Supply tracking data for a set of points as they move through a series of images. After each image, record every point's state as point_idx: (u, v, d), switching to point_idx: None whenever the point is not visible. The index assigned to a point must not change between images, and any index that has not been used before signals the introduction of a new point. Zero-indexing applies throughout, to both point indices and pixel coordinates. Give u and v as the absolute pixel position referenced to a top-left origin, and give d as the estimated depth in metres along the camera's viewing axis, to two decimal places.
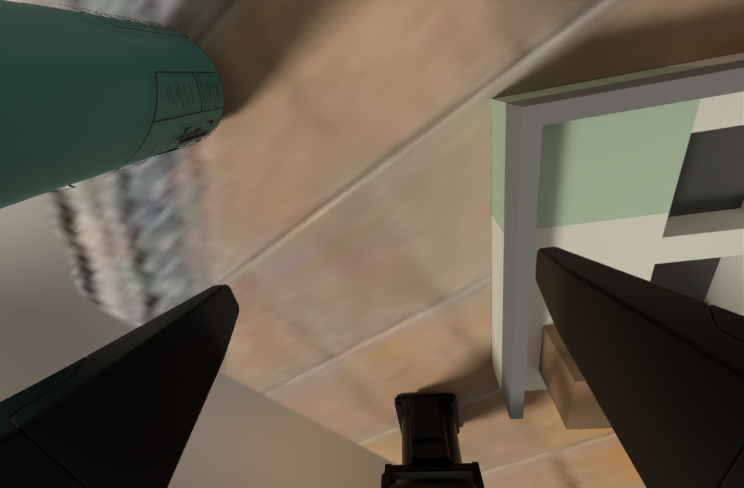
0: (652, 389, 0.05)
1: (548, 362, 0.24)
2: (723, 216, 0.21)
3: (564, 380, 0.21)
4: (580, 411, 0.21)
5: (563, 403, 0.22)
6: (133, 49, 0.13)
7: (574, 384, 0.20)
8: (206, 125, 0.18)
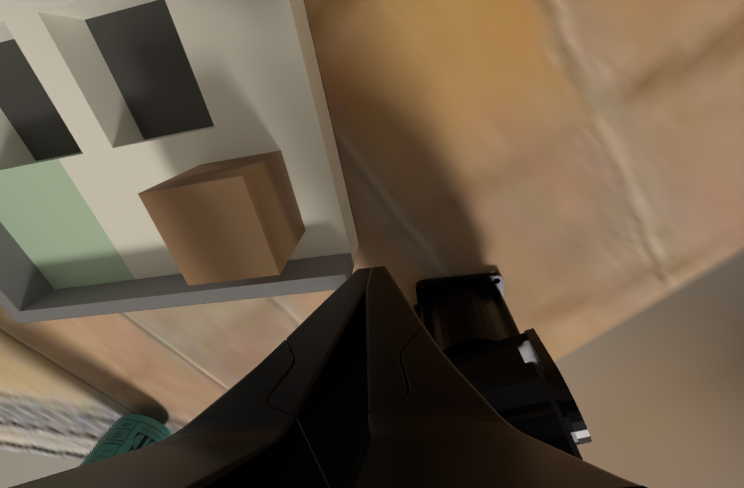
0: None
1: None
2: None
3: None
4: (237, 268, 0.15)
5: None
6: None
7: (194, 284, 0.16)
8: (140, 436, 0.32)
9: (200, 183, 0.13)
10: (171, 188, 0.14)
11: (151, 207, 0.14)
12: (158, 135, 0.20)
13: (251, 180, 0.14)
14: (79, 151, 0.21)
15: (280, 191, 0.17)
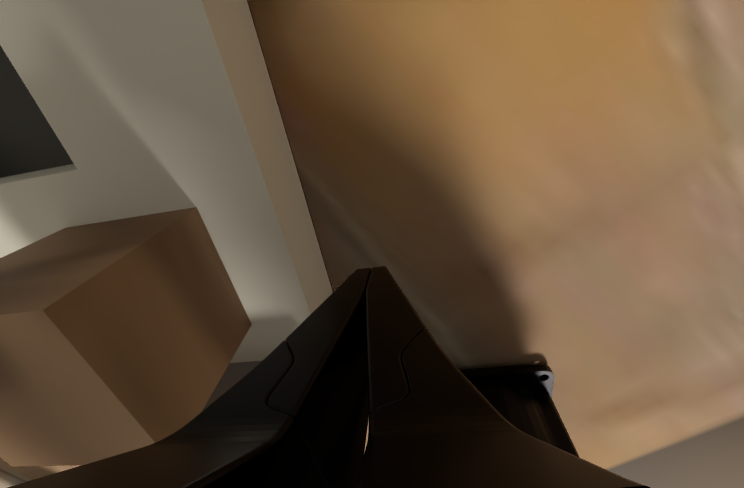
0: None
1: None
2: None
3: None
4: (89, 450, 0.08)
5: None
6: None
7: (22, 465, 0.09)
8: None
9: None
10: None
11: None
12: (20, 171, 0.13)
13: (84, 304, 0.06)
14: None
15: (189, 285, 0.09)
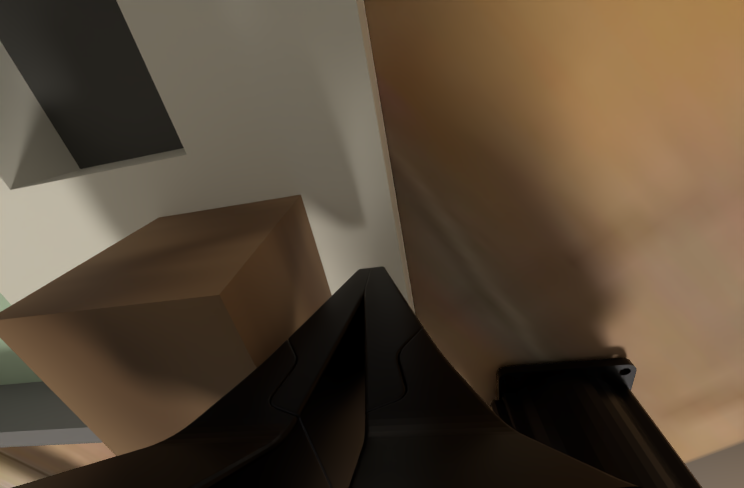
0: None
1: None
2: None
3: None
4: None
5: None
6: None
7: None
8: None
9: (121, 305, 0.06)
10: (57, 313, 0.06)
11: (23, 347, 0.06)
12: (102, 162, 0.12)
13: (242, 290, 0.06)
14: None
15: (301, 275, 0.09)
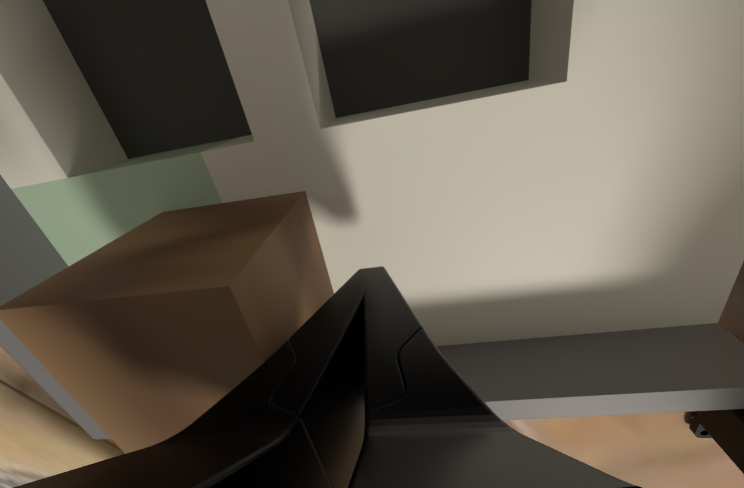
0: None
1: None
2: None
3: None
4: None
5: None
6: None
7: None
8: None
9: (131, 296, 0.06)
10: (66, 303, 0.06)
11: (29, 337, 0.06)
12: (365, 109, 0.11)
13: (251, 283, 0.06)
14: (209, 141, 0.12)
15: (305, 271, 0.09)
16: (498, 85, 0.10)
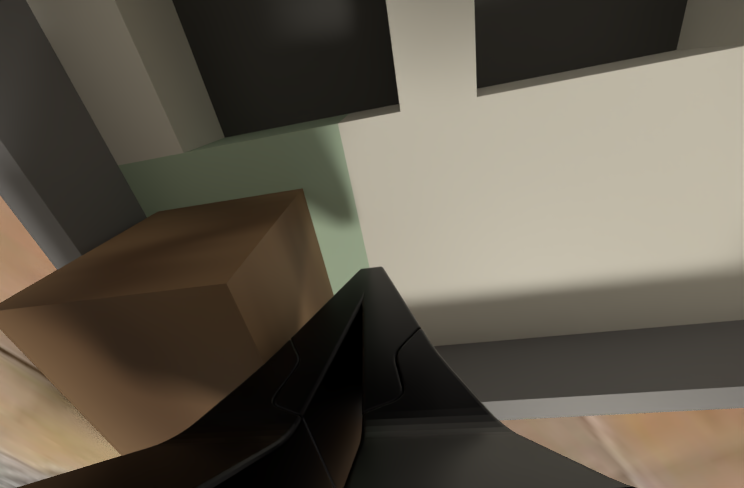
0: None
1: None
2: None
3: None
4: None
5: None
6: None
7: None
8: None
9: (126, 295, 0.06)
10: (60, 303, 0.06)
11: (23, 338, 0.06)
12: (492, 82, 0.10)
13: (249, 280, 0.06)
14: (317, 117, 0.11)
15: (304, 268, 0.09)
16: (643, 55, 0.10)
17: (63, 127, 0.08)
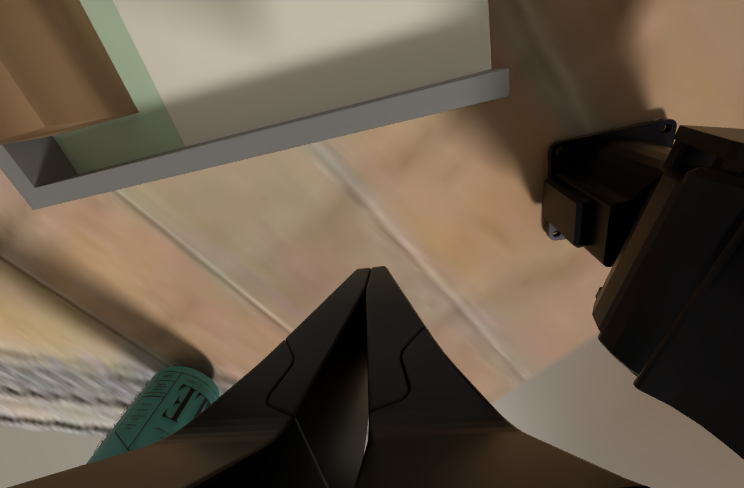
0: None
1: (69, 128, 0.15)
2: None
3: (1, 142, 0.13)
4: None
5: (33, 132, 0.13)
6: (107, 437, 0.23)
7: None
8: (186, 389, 0.26)
9: None
10: None
11: None
12: None
13: None
14: None
15: (66, 36, 0.13)
16: None
17: None
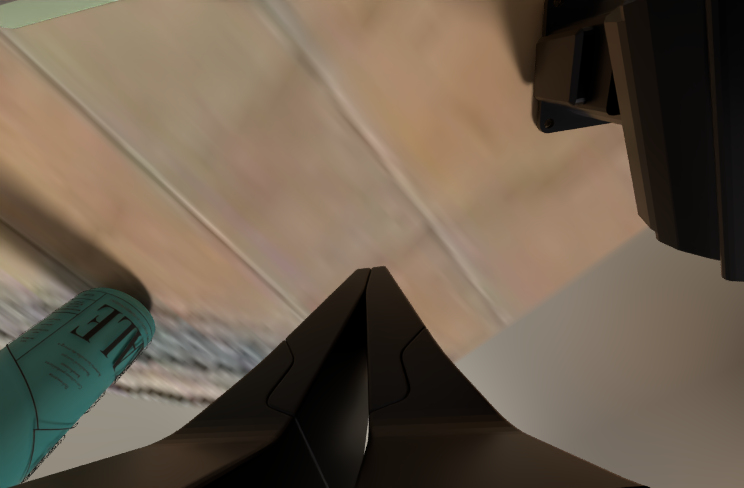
0: None
1: None
2: None
3: None
4: None
5: None
6: None
7: None
8: (109, 310, 0.22)
9: None
10: None
11: None
12: None
13: None
14: None
15: None
16: None
17: None
